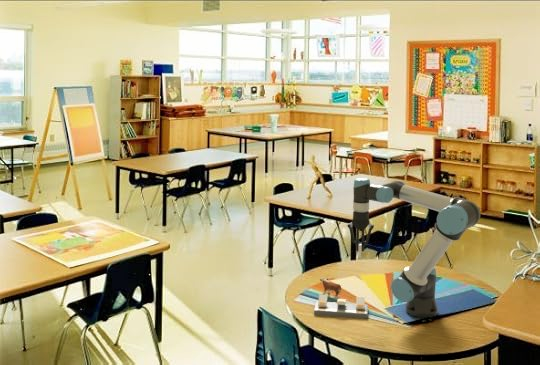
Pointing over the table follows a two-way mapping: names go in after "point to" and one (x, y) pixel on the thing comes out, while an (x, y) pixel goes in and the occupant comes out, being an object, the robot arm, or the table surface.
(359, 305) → the switch
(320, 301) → the switch
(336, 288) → the bull figurine
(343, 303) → the switch middle
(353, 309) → the switch panel
